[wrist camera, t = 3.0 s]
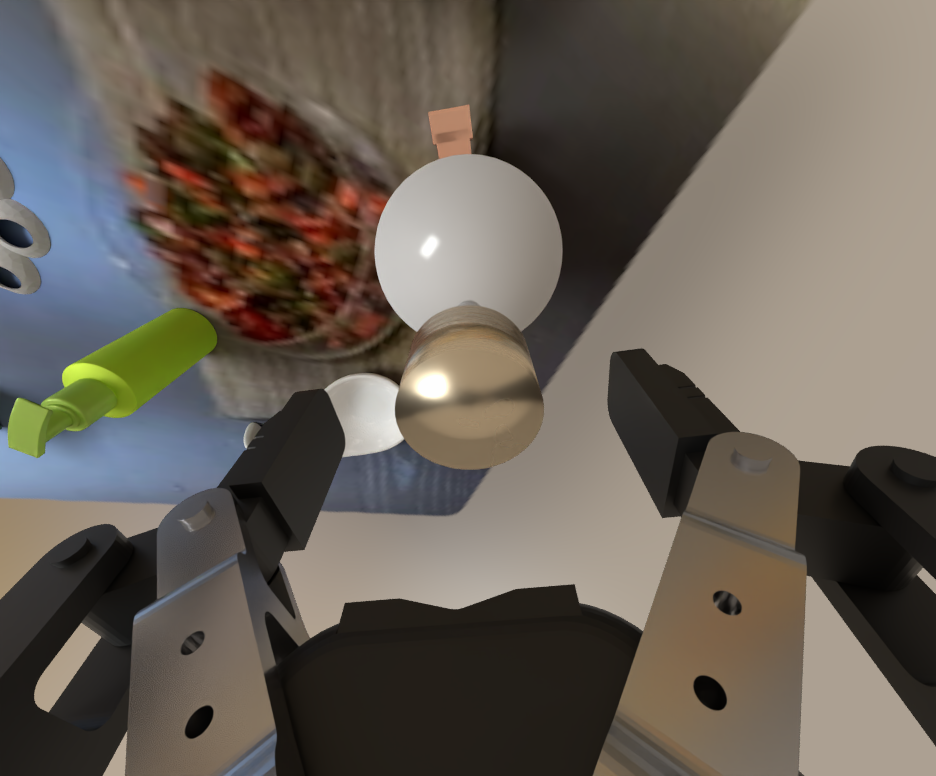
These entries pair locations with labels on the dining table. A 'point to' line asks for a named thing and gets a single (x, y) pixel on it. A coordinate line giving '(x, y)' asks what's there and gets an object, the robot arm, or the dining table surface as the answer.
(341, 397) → the spoon rest
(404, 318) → the press pot
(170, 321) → the soap dispenser
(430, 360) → the plunger
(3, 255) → the paint palette
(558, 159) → the dining table surface
